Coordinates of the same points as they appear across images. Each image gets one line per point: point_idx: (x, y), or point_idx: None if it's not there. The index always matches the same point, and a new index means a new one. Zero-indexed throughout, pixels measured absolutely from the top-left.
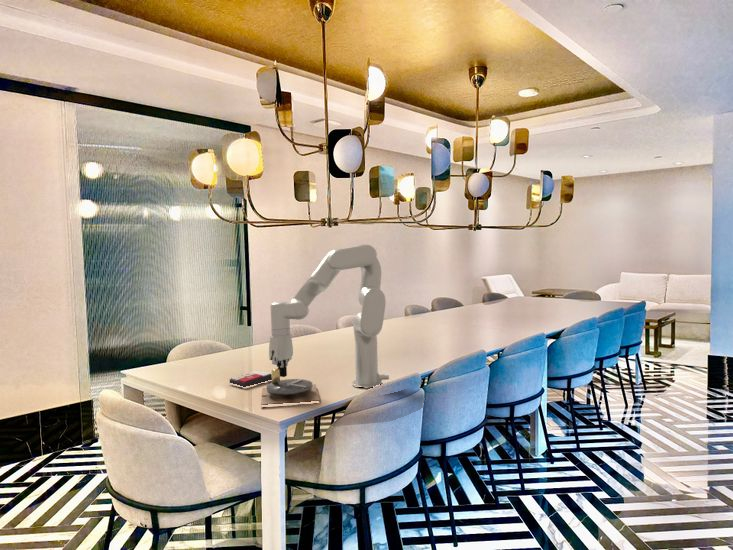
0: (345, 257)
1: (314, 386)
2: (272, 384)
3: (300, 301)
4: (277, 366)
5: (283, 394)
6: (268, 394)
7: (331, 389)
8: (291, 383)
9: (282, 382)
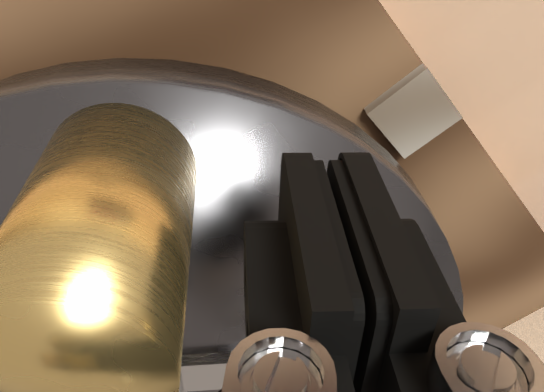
0: None
1: (499, 318)
2: (16, 178)
3: None
4: (230, 372)
5: None
6: None
7: None
8: (196, 381)
9: (208, 232)
